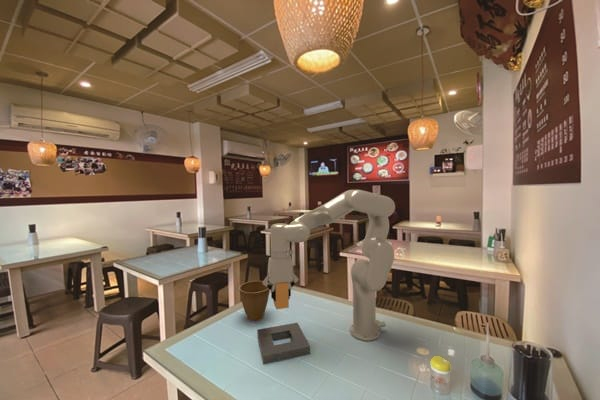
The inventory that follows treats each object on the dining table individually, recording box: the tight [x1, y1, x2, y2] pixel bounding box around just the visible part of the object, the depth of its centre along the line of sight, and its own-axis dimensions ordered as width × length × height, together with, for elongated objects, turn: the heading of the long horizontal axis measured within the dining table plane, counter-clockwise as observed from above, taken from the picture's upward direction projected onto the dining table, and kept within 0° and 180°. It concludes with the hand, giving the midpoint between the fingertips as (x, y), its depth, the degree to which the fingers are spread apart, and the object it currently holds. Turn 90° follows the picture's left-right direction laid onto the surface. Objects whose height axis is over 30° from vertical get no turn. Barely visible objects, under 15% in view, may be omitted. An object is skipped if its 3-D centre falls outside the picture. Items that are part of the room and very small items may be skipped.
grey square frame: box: [256, 322, 311, 365], centre depth 101 cm, size 18×18×3 cm
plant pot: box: [238, 280, 271, 322], centre depth 122 cm, size 15×15×16 cm
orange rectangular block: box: [273, 282, 290, 310], centre depth 100 cm, size 5×5×10 cm
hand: (281, 298), depth 100 cm, fingers closed on orange rectangular block, 5 cm apart
